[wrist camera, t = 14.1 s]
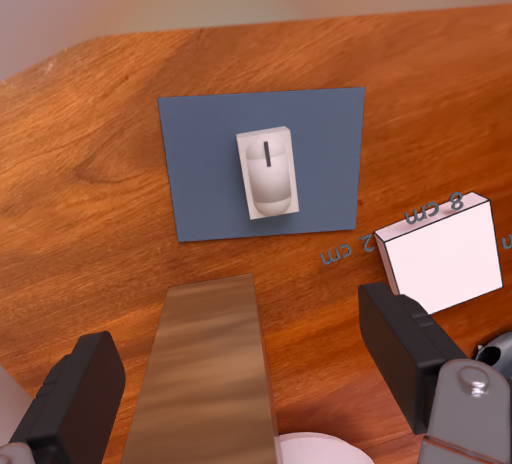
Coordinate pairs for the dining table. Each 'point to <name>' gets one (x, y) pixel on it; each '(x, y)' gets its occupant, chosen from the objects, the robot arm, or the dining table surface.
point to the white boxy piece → (268, 172)
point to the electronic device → (498, 354)
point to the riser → (207, 381)
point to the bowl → (319, 450)
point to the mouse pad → (229, 166)
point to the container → (441, 252)
